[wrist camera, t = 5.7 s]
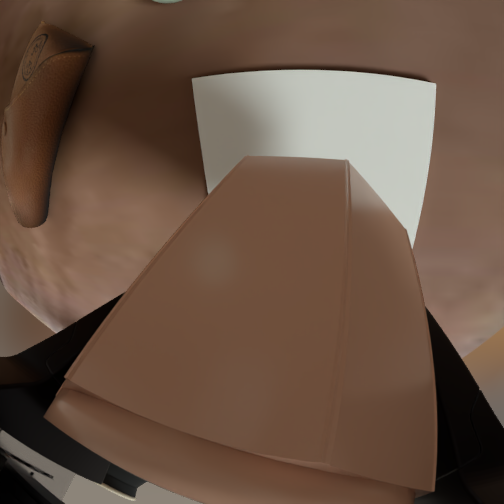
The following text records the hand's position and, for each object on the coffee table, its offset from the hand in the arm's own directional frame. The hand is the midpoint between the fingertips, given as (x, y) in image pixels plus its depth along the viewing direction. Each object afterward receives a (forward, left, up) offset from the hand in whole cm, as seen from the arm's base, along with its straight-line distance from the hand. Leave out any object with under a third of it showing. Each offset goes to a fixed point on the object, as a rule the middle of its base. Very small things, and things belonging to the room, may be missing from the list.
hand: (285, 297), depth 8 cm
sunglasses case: (+22, -6, -10) cm, 24 cm away
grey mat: (0, 0, -9) cm, 9 cm away
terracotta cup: (0, 0, -2) cm, 2 cm away
